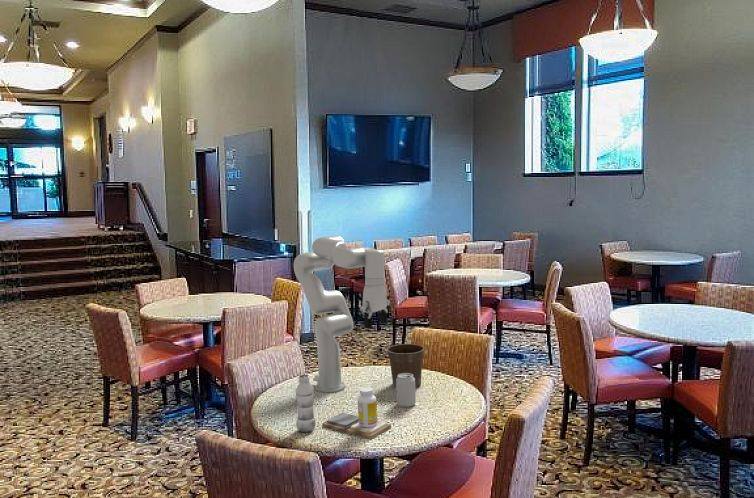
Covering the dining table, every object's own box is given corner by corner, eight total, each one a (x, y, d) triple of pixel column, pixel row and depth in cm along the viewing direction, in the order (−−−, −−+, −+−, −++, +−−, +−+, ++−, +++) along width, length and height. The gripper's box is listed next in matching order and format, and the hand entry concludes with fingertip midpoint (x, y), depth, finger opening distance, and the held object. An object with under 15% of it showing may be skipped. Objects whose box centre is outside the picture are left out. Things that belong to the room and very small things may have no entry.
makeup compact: (322, 426, 224) (322, 421, 224) (343, 415, 233) (343, 410, 233) (371, 439, 211) (370, 433, 211) (391, 427, 220) (390, 422, 220)
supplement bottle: (379, 421, 221) (378, 386, 220) (374, 428, 215) (372, 393, 213) (362, 420, 223) (360, 385, 222) (356, 427, 217) (354, 392, 215)
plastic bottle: (297, 427, 223) (294, 374, 221) (316, 426, 224) (313, 372, 222) (296, 435, 217) (293, 379, 215) (315, 433, 217) (313, 378, 215)
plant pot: (381, 382, 270) (380, 346, 269) (414, 376, 277) (413, 341, 276) (398, 393, 256) (397, 355, 254) (432, 387, 263) (431, 350, 261)
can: (414, 408, 238) (413, 378, 237) (395, 407, 240) (394, 377, 239) (417, 401, 246) (416, 372, 244) (398, 400, 247) (397, 371, 246)
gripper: (380, 277, 246) (381, 319, 248) (353, 284, 232) (354, 328, 234) (396, 279, 241) (396, 322, 243) (368, 286, 227) (369, 331, 229)
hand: (375, 325), depth 239 cm, fingers open, 9 cm apart
